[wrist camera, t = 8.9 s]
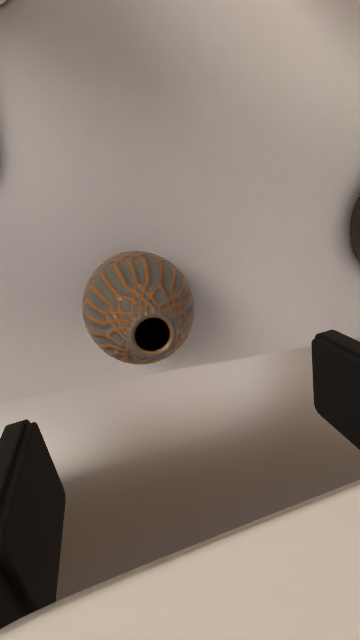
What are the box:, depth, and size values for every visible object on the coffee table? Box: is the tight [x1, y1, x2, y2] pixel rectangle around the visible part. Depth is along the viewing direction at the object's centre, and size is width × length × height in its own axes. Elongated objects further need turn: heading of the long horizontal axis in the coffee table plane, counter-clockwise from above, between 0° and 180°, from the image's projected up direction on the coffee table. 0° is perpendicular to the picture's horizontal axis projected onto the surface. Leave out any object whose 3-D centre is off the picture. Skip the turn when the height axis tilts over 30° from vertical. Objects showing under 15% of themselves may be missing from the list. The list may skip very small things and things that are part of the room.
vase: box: [83, 251, 194, 364], centre depth 20 cm, size 7×7×9 cm
